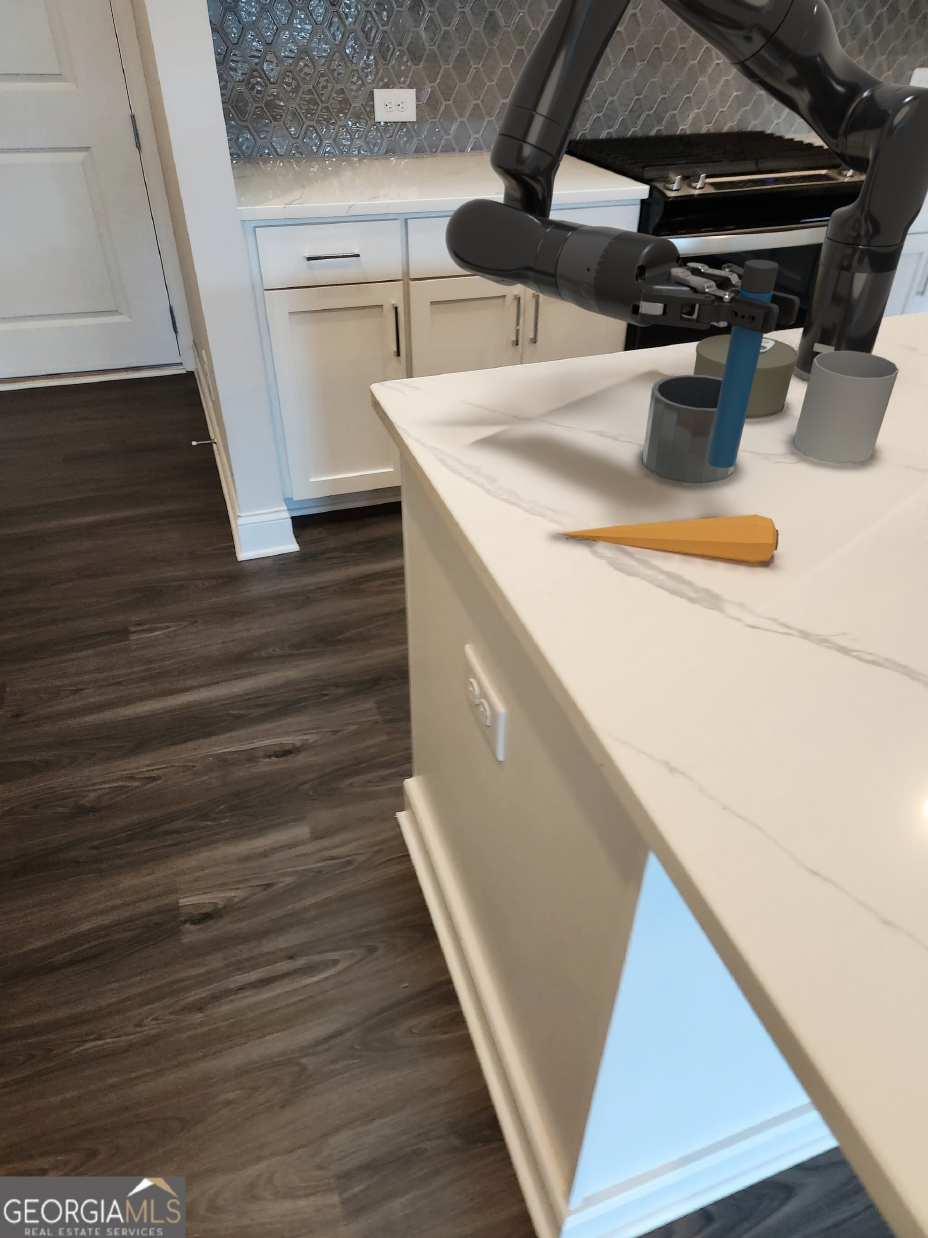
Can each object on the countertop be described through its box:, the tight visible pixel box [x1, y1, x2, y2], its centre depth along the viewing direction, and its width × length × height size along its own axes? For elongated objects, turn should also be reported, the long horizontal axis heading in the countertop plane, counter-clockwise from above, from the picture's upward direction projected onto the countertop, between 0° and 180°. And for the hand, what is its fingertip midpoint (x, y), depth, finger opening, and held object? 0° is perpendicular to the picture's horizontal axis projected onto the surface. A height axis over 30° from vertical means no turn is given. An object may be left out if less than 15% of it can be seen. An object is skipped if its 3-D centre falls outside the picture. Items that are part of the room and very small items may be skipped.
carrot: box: [558, 514, 780, 563], centre depth 77 cm, size 20×4×4 cm, turn 77°
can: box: [692, 333, 798, 420], centre depth 103 cm, size 12×12×7 cm
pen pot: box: [642, 374, 736, 484], centre depth 88 cm, size 10×10×8 cm
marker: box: [707, 259, 779, 468], centre depth 72 cm, size 3×3×18 cm
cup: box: [793, 351, 900, 465], centre depth 91 cm, size 8×8×10 cm
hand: (784, 315), depth 67 cm, fingers closed on marker, 2 cm apart
